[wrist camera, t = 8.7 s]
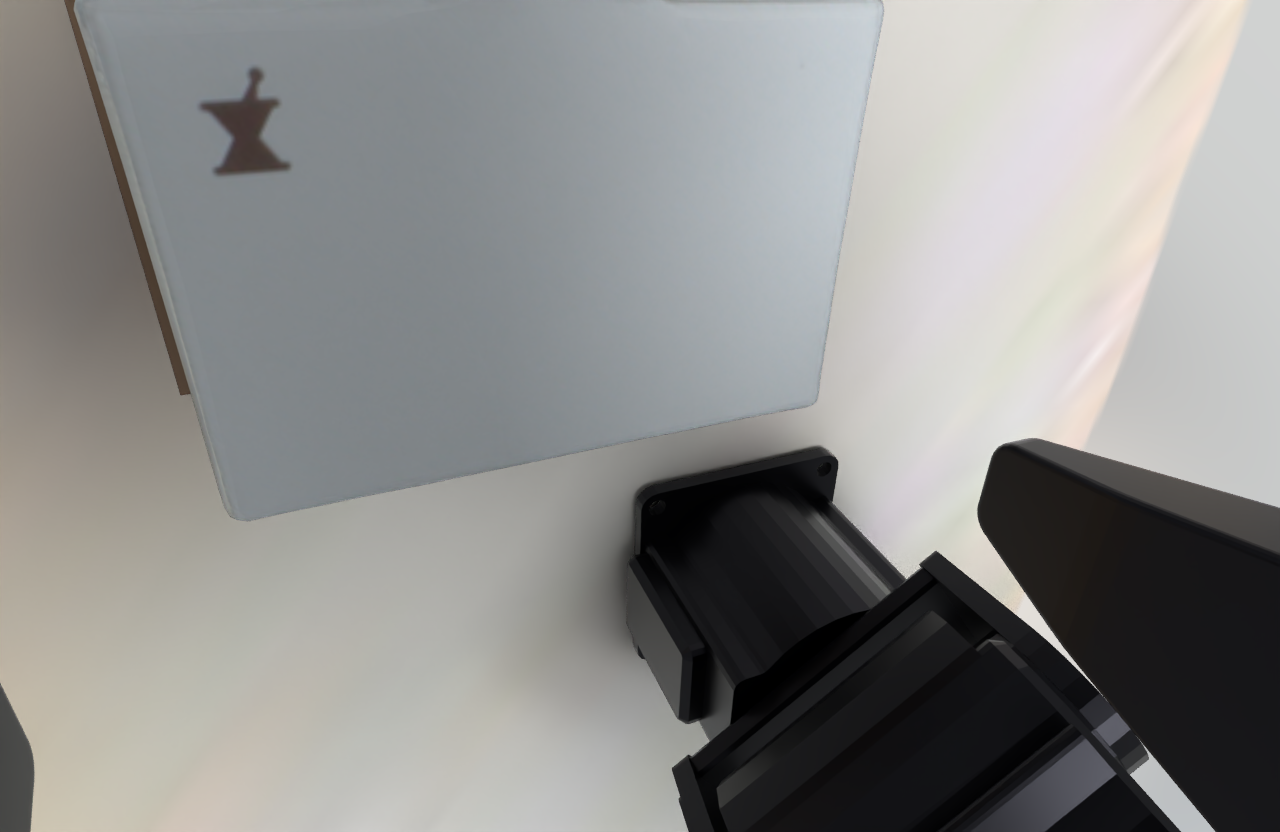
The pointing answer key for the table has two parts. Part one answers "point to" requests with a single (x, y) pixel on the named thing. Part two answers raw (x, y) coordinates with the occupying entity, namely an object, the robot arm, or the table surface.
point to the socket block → (130, 209)
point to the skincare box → (482, 221)
